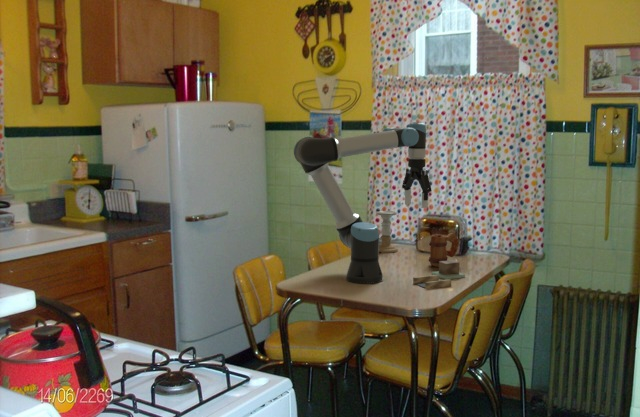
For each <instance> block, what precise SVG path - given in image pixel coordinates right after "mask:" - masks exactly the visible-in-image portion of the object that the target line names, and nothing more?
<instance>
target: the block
mask: <svg viewBox="0 0 640 417" xmlns="http://www.w3.org/2000/svg"><path fill="white" fill-rule="evenodd" d="M460 264H461V263H460V261H457V260H453V259H450V260H447V261H439V267H438V271H439V273H441V274H444V275H452V274H459V273H460Z"/></svg>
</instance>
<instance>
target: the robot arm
mask: <svg viewBox="0 0 640 417" xmlns="http://www.w3.org/2000/svg"><path fill="white" fill-rule="evenodd" d="M426 144H427V125H426V124H425V123H424V122H423V123H422V122H411V123H409V124H408V127H390V126H389V127H385V128H383V129H382V131H379V132H374V133H367V134H362V135H355V136H348V137H344V138H337V139H336V138H335V137H328V138H326V137H325V138H324V137H323V138H320V137H313V136H305V137H302V138H300V139H299V140H298V141H297V142H296V143H295V145H294V147H293V156H294V158H295V160H296V161H297V162H298V163H300V165H301V167H302V169H303V172H305V174H306V175H309V176H311V178H312V180H313V182H314V184H315V185H316V187H317V189H318V191H319V193H320V195H321V196H322V198H323V200H324V202H325V204H326V205H327V207H328V209H329V211H330V213H331V214H332V216H333V218H334V220H335V222H336V224H335V229H336V231H337V233H338V237H339V239H340V241H341V243H342V244H343V245H344V246H345V247H347V248H349V249H350V262H349V266H348V269H347V272H346V281H348V282H350V283H355V284H356V283H357V284H375V283H376V284H377V283H380V282H382V281H383V277H384V275H383V272H382V269H381V266H380V263H379V258H380V256H379V253H380V252H379V245H380V231H379V230H380V228H379V226H378V225H376V224H375V223H371V222H366V221H365V222H363V220H362V218H361V216H360V214H359V213H355V212H354V210H353V209H352V206H351V205H350V203H349V201H348V199H347V197H346V195H345V193H344V192H343V190H342V188H341V185H340V184H339V183H338V181H337V179H336V176H335V175H334V174H333V171H332V169H331V167H330V166H329V164H330V163H333V162H337V161H339V159H341V158H345V157H352V156H357V155H358V156H359V155H363V154H368V153H374V152H379V151H387V150H391V149H397V148H404V147H408V152H407V153H408V155H407V158H409V159H408V161H407V162H408V163H407V166H408V167H407V168H406V169H405V175H404V178H403V182H402V185H401V188H402V189H403V190H404V205H406V206H407V205H411V204H412V186H413V184H414V182H415V180H416V181H418V184H419V186H420V188H421V207H420V208H422V209H427V208H428V205H429V202H428V201H429V193H432V187H431V181H430V179H429V178H430V177H429V171H428V169H424V168H425V167H426V152H427V151H426V149H427V147H426V146H427V145H426Z"/></svg>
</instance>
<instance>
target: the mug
mask: <svg viewBox="0 0 640 417" xmlns="http://www.w3.org/2000/svg"><path fill="white" fill-rule="evenodd" d="M448 242H450V243H451V247H450V249H448V250H447V245H448ZM428 245H429V246H430V248H429V249H430V252H429V253H430V256H429V258H428V262H429V265H430V266H433V267H436V268H439V261H448V259H449V258H453V257H455V255H456V253H457V252H458V248H459V238H458V236H457V235H456V234H455V233H453V232H450V233H448V234H447V235H443V234H438V235H437V234H434V235H433V234H432V235H431V238H430V241H429V243H428ZM448 257H449V258H448Z"/></svg>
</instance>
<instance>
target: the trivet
mask: <svg viewBox="0 0 640 417" xmlns="http://www.w3.org/2000/svg"><path fill="white" fill-rule="evenodd" d="M431 275H439V278H440V279H442V280H449V279H451V280H452V279H461V278H462V279H463V278H465V277H466V275H465V274H464V273H461V272H459V274H452V275H444V274H441V273H439V270H438V271H431Z"/></svg>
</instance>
